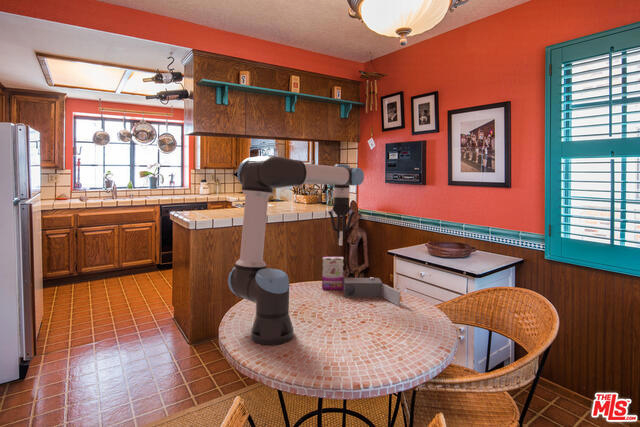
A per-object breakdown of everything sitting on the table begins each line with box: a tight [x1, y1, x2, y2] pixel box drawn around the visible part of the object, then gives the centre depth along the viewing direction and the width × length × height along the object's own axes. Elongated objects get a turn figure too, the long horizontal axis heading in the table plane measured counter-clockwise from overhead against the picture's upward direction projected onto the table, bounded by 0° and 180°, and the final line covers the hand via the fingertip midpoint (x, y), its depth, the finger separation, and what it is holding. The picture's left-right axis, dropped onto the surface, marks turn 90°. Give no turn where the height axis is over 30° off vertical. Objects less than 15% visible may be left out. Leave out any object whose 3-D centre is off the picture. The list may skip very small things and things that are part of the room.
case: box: [342, 276, 384, 298], centre depth 175 cm, size 18×11×8 cm, turn 91°
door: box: [381, 283, 403, 307], centre depth 166 cm, size 13×2×7 cm, turn 24°
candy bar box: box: [321, 256, 345, 291], centre depth 184 cm, size 11×5×16 cm, turn 88°
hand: (340, 244), depth 175 cm, fingers closed
